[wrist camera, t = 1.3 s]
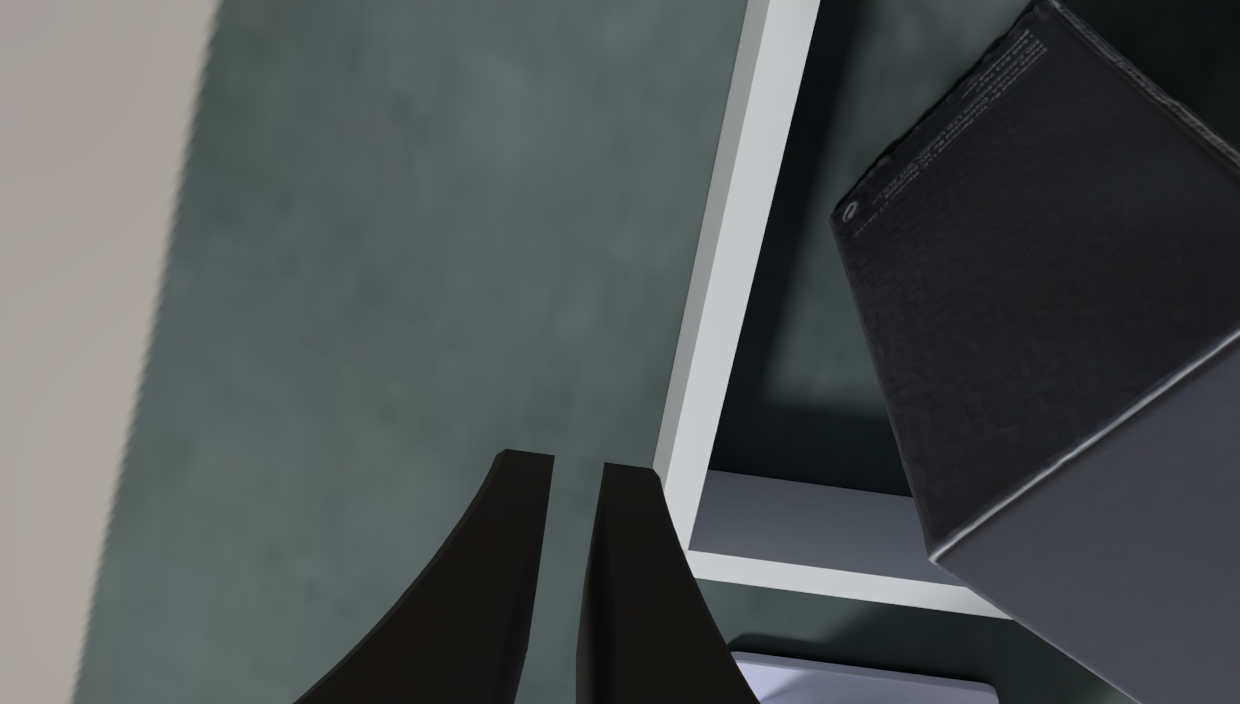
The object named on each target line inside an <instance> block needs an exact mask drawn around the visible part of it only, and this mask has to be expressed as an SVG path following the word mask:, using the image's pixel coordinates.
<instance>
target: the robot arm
mask: <svg viewBox="0 0 1240 704" xmlns="http://www.w3.org/2000/svg"><path fill="white" fill-rule="evenodd" d="M554 457H555V455H547V454H540V453H533V452H525V451H518V450H511V449H505V450H504V451H502V452H500V453H499V454H497V455H496V457H495V459H494V462H493V464H492V466H491V469H490V471H489V472H488V474H487V476H486V478H485V480H484V482H483V484H482V486H481V487H480V489H479V491H478V492H477V494H476V496H475V498H474V499H473V501H472V502H471V504H470V505H469V507H468V508H467V510H466V512H465V513H464V515H463V516H462V518H461V519H460V521H459V522H458V524H457V525H456V526H455V528H454V529H453V530H452V532H451V533H450V535H449V536H448V537H447V539H446V540H445V542H444V543H443V544H442V546H441V547H440V549H439V550H438V551H437V553H436V554H435V556H434V557H433V558H432V559H431V561H430V562H429V563H428V565H427V566H426V567H425V568H424V569H423V571H422V572H421V573H420V574H419V575H418V577H417V578H416V579H415V580H414V581H413V583H412V584H411V585H410V586H409V587H408V589H407V590H406V591H405V592H404V593H403V595H402V596H401V597H400V598H399V600H398V601H397V602H396V603H395V604H394V605H393V607H392V608H391V609H390V610H389V611H388V612H387V613H386V614H385V615H384V617H383V618H382V619H381V620H380V621H379V622H378V623H377V624H376V625H375V626H374V627H373V628H372V629H371V631H370V632H369V633H368V634H367V635H366V636H365V637H364V638H363V639H362V640H361V641H360V642H359V643H358V644H357V645H356V646H355V647H354V648H353V649H352V650H351V651H350V652H349V653H348V654H347V655H346V656H345V657H344V658H343V659H342V660H341V661H340V662H339V663H338V664H337V665H335V666H334V667H333V668H332V669H331V670H330V671H329V672H328V673H327V674H326V675H324V676H323V677H322V678H321V679H320V680H319V681H318V682H317V683H316V684H315V685H314V686H312V687H311V688H310V689H309V690H308V691H307V692H306V693H305V694H304V695H303V696H301V697H300V698H299V699H298V700H297V701H296V702H294V703H293V704H514V701H515V697H516V693H517V689H518V685H519V681H520V677H521V673H522V669H523V665H524V661H525V657H526V653H527V649H528V642H529V635H530V628H531V621H532V614H533V607H534V600H535V593H536V586H537V579H538V572H539V565H540V558H541V551H542V544H543V536H544V529H545V522H546V515H547V507H548V500H549V493H550V486H551V479H552V471H553V464H554ZM576 704H999V700H998V697H997V694H996V691H995V689H994V688H993V687H992V686H991V685H988V684H985V683H979V682H971V681H963V680H956V679H948V678H940V677H932V676H925V675H917V674H909V673H901V672H894V671H886V670H878V669H870V668H863V667H855V666H847V665H839V664H832V663H824V662H816V661H809V660H801V659H793V658H785V657H778V656H770V655H762V654H754V653H747V652H730V651H729V649H728V647H727V645H726V643H725V641H724V639H723V637H722V635H721V633H720V632H719V630H718V628H717V626H716V624H715V622H714V620H713V618H712V616H711V614H710V611H709V609H708V607H707V605H706V603H705V601H704V599H703V596H702V594H701V592H700V590H699V587H698V585H697V583H696V580H695V578H694V576H693V574H692V571H691V569H690V567H689V565H688V562H687V560H686V557H685V555H684V552H683V550H682V547H681V544H680V541H679V539H678V536H677V533H676V530H675V528H674V525H673V522H672V519H671V516H670V513H669V510H668V506H667V503H666V500H665V496H664V492H663V488H662V484H661V479H660V477H659V475H658V474H657V473H656V472H655V470H654V469H650V468H642V467H635V466H628V465H620V464H613V463H606V462H605V464H604V469H603V475H602V481H601V487H600V493H599V498H598V504H597V510H596V516H595V522H594V527H593V533H592V539H591V545H590V551H589V556H588V562H587V568H586V574H585V580H584V588H583V597H582V606H581V615H580V624H579V633H578V642H577V652H576Z"/></svg>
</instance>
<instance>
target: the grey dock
mask: <svg viewBox="0 0 1240 704" xmlns="http://www.w3.org/2000/svg"><path fill="white" fill-rule="evenodd" d="M819 4H820V0H748V4H747V9H746V14H745V19H744V24H743V29H742V33H741V38H740V43H739V48H738V53H737V58H736V63H735V68H734V73H733V77H732V82H731V87H730V92H729V97H728V102H727V107H726V112H725V116H724V121H723V126H722V131H721V136H720V141H719V146H718V151H717V156H716V160H715V165H714V170H713V175H712V180H711V185H710V190H709V195H708V199H707V204H706V209H705V214H704V219H703V224H702V229H701V234H700V239H699V243H698V248H697V253H696V258H695V263H694V268H693V273H692V278H691V282H690V287H689V292H688V297H687V302H686V307H685V312H684V317H683V322H682V326H681V331H680V336H679V341H678V346H677V351H676V356H675V361H674V365H673V370H672V375H671V380H670V385H669V390H668V395H667V400H666V405H665V409H664V414H663V419H662V424H661V429H660V434H659V439H658V444H657V448H656V453H655V458H654V463H653V468H652V469H654V470H655V472H656V473H657V474H658V475H659V477H660V479H661V484H662V488H663V492H664V496H665V500H666V503H667V506H668V510H669V513H670V516H671V519H672V522H673V525H674V528H675V530H676V533H677V536H678V539H679V541H680V544H681V547H682V550H683V552H684V555H685V557H686V560H687V562H688V565H689V567H690V569H691V571H692V574H693V576H694V578H701V579H709V580H717V581H724V582H732V583H739V584H747V585H754V586H762V587H770V588H777V589H785V590H792V591H800V592H807V593H815V594H822V595H830V596H838V597H845V598H853V599H860V600H868V601H875V602H883V603H891V604H898V605H906V606H913V607H921V608H928V609H936V610H943V611H951V612H959V613H966V614H974V615H981V616H989V617H996V618H1004V619H1012V618H1011V617H1009V616H1008V615H1006V614H1005V613H1003V612H1002V611H1000V610H999V609H997V608H996V607H994V606H993V605H992V604H990V603H989V602H987V601H986V600H984V599H983V598H981V597H980V596H978V595H977V594H976V593H974V592H973V591H971V590H970V589H968V588H967V587H965V586H964V585H962V584H961V583H959V582H958V581H956V580H955V579H954V578H952V577H951V576H949V575H947V574H946V573H944V572H943V571H941V570H939V569H938V568H936V567H935V566H934V565H933V564H932V563H931V562H930V561H929V559H928V555H927V551H926V546H925V542H924V535H923V531H922V527H921V523H920V519H919V515H918V512H917V510H916V506H915V501H914V498H911V497H904V496H897V495H890V494H882V493H875V492H868V491H860V490H853V489H846V488H838V487H831V486H824V485H817V484H809V483H802V482H795V481H787V480H780V479H773V478H765V477H758V476H751V475H744V474H736V473H729V472H722V471H714V470H707V468H708V464H709V460H710V455H711V451H712V447H713V443H714V439H715V435H716V431H717V426H718V422H719V418H720V414H721V410H722V406H723V402H724V397H725V393H726V389H727V385H728V381H729V377H730V373H731V368H732V364H733V360H734V356H735V352H736V348H737V344H738V339H739V335H740V331H741V327H742V323H743V319H744V315H745V310H746V306H747V302H748V298H749V294H750V290H751V286H752V281H753V277H754V273H755V269H756V265H757V261H758V257H759V252H760V248H761V244H762V240H763V236H764V232H765V228H766V223H767V219H768V215H769V211H770V207H771V203H772V199H773V194H774V190H775V186H776V182H777V178H778V174H779V170H780V165H781V161H782V157H783V153H784V149H785V145H786V141H787V136H788V132H789V128H790V124H791V120H792V116H793V112H794V107H795V103H796V99H797V95H798V91H799V87H800V83H801V78H802V74H803V70H804V66H805V62H806V58H807V54H808V49H809V45H810V41H811V37H812V33H813V29H814V25H815V20H816V16H817V12H818V8H819ZM1012 620H1014V619H1012Z"/></svg>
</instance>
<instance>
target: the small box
mask: <svg viewBox="0 0 1240 704" xmlns="http://www.w3.org/2000/svg"><path fill="white" fill-rule="evenodd" d="M829 222H830V225H831V228H832V231H833V234H834V237H835V240H836V243H837V247H838V250H839V253H840V256H841V259H842V263H843V265H844V269H845V272H846V275H847V279H848V282H849V285H850V289H851V292H852V295H853V298H854V301H855V305H856V308H857V311H858V315H859V318H860V321H861V325H862V328H863V331H864V334H865V338H866V342H867V345H868V349H869V352H870V354H871V357H872V361H873V364H874V368H875V371H876V375H877V378H878V382H879V385H880V389H881V392H882V396H883V399H884V403H885V406H886V409H887V413H888V416H889V420H890V423H891V426H892V430H893V433H894V436H895V440H896V443H897V446H898V450H899V453H900V457H901V461H902V465H903V468H904V471H905V474H906V477H907V480H908V483H909V486H910V489H911V492H912V495H913V498H914V501H915V506H916V510H917V512H918V515H919V519H920V523H921V527H922V531H923V535H924V542H925V546H926V551H927V555H928V559H929V561H930V562H931V563H932V564H933V565H934V566H935V567H936V568H938V569H939V570H941V571H943V572H944V573H946V574H947V575H949V576H951V577H952V578H954V579H955V580H956V581H958V582H959V583H961V584H962V585H964V586H965V587H967V588H968V589H970V590H971V591H973V592H974V593H976V594H977V595H978V596H980V597H981V598H983V599H984V600H986V601H987V602H989V603H990V604H992V605H993V606H994V607H996V608H997V609H999V610H1000V611H1002V612H1003V613H1005V614H1006V615H1008V616H1009V617H1011V618H1012V619H1014V620H1015V621H1017V622H1018V623H1020V624H1021V625H1023V626H1024V627H1026V628H1027V629H1029V630H1030V631H1032V632H1033V633H1035V634H1036V635H1038V636H1039V637H1041V638H1042V639H1044V640H1045V641H1047V642H1048V643H1050V644H1051V645H1053V646H1054V647H1056V648H1057V649H1059V650H1060V651H1062V652H1063V653H1065V654H1066V655H1067V656H1069V657H1070V658H1072V659H1073V660H1075V661H1076V662H1078V663H1079V664H1081V665H1082V666H1084V667H1085V668H1087V669H1088V670H1090V671H1091V672H1093V673H1094V674H1096V675H1097V676H1099V677H1100V678H1102V679H1103V680H1105V681H1106V682H1108V683H1109V684H1111V685H1112V686H1113V687H1115V688H1116V689H1118V690H1119V691H1121V692H1122V693H1124V694H1125V695H1127V696H1128V697H1130V698H1131V699H1133V700H1134V701H1136V702H1137V703H1139V704H1240V150H1239V149H1238V148H1236V147H1235V146H1233V145H1232V144H1231V143H1230V142H1229V141H1228V140H1227V139H1226V138H1223V137H1222V136H1221V135H1220V134H1219V133H1218V132H1217V131H1216V130H1215V129H1214V128H1213V127H1212V126H1211V125H1209V124H1208V123H1206V122H1205V121H1203V120H1202V119H1201V118H1200V117H1199V116H1197V115H1196V114H1195V113H1194V112H1193V111H1192V110H1191V109H1190V108H1189V107H1187V106H1186V105H1185V104H1183V103H1182V102H1181V101H1178V100H1175V99H1173V98H1172V97H1170V96H1169V95H1168V94H1167V93H1166V92H1165V91H1164V90H1163V89H1162V88H1161V87H1160V86H1158V85H1156V84H1155V83H1154V82H1153V81H1152V80H1151V79H1150V78H1149V77H1147V76H1146V75H1145V74H1144V73H1143V72H1141V71H1140V70H1139V69H1137V68H1136V67H1135V66H1134V65H1133V64H1132V63H1131V62H1130V60H1128V59H1127V58H1125V57H1124V56H1122V55H1121V54H1120V53H1119V52H1118V51H1117V50H1116V49H1115V48H1114V47H1113V46H1111V45H1110V44H1109V43H1108V42H1107V41H1106V40H1105V39H1104V38H1102V36H1101V35H1099V34H1098V33H1097V32H1096V31H1095V30H1094V29H1093V27H1092V26H1091V25H1090V24H1089V23H1087V22H1086V21H1085V20H1083V19H1082V18H1081V17H1079V16H1078V15H1077V14H1076V13H1075V12H1074V11H1073V10H1072V9H1071V8H1070V7H1069V6H1067V5H1066V4H1065V3H1064V2H1063V1H1062V0H1044V1H1041V2H1038V3H1037V4H1036V5H1035V6H1034V9H1033V11H1031V12H1029V13H1027V14H1026V15H1024V16H1022V18H1021V19H1020V20H1019V21H1018V23H1017V24H1016V25H1015V27H1014V28H1013V29H1012V30H1011V31H1009V34H1008V36H1007V38H1006V39H1005V40H1004V41H1003V42H1002V43H1001V45H1000V46H999V47H998V48H997V49H996V50H994V51H993V52H992V53H990V54H987V55H986V56H985V57H984V58H983V60H982V63H981V64H980V65H979V66H978V67H977V69H976V70H975V71H974V72H973V73H971V74H970V75H969V76H968V77H967V78H966V79H965V80H964V81H963V82H962V83H961V84H960V85H959V86H958V87H957V88H956V89H955V91H953V92H952V93H950V94H949V95H948V97H947V98H946V100H945V101H944V102H943V103H942V104H941V105H939V106H938V107H937V108H936V109H935V110H934V111H933V112H932V113H931V114H930V115H929V116H928V117H927V118H926V119H925V120H924V121H922V122H921V123H920V124H918V125H917V126H916V128H915V129H914V130H913V132H912V133H911V134H910V135H909V136H908V137H907V138H906V139H905V140H904V141H903V142H902V143H901V144H899V146H898V147H897V148H896V149H895V150H894V151H893V152H892V153H889V154H887V155H885V156H883V157H882V158H881V159H880V160H879V161H878V163H877V164H876V165H875V166H874V167H873V168H872V169H871V170H870V171H869V173H868V175H866V176H865V177H864V178H863V179H862V180H861V182H860V183H859V184H858V186H857V187H856V188H855V189H854V190H853V191H852V192H851V193H850V195H849V196H848V198H847V199H846V200H845V201H844V202H843V203H842V204H841V205H840V206H839V207H838V208H837V209H836V210H835V211H834V212H833V213H832V214H831V216H830V219H829Z"/></svg>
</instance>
